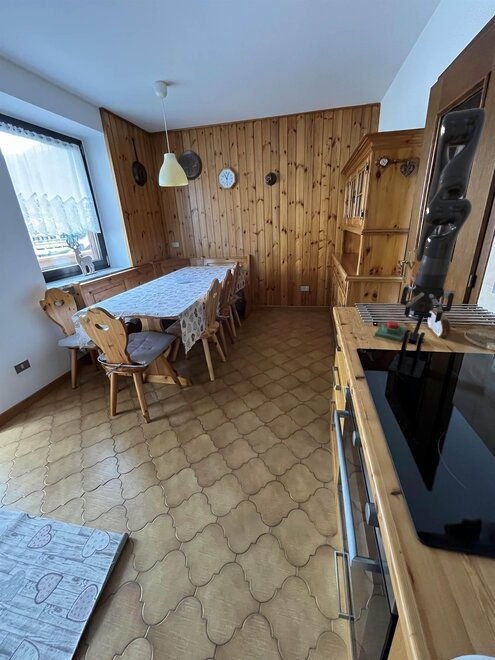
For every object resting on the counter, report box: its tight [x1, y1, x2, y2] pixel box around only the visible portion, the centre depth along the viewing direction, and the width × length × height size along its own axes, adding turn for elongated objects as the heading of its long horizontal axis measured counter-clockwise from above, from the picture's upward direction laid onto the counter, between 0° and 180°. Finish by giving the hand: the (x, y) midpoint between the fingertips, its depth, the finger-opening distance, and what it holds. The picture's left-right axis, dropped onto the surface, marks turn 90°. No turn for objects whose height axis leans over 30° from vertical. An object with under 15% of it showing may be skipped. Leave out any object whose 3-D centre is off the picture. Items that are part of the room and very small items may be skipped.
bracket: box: [387, 328, 427, 379], centre depth 90 cm, size 11×9×13 cm
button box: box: [374, 322, 408, 343], centre depth 112 cm, size 11×9×4 cm
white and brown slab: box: [426, 309, 451, 339], centre depth 111 cm, size 15×3×8 cm, turn 168°
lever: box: [407, 310, 432, 346], centre depth 90 cm, size 13×5×2 cm, turn 141°
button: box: [386, 320, 399, 329], centre depth 111 cm, size 4×4×2 cm
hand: (421, 319), depth 93 cm, fingers open, 8 cm apart
